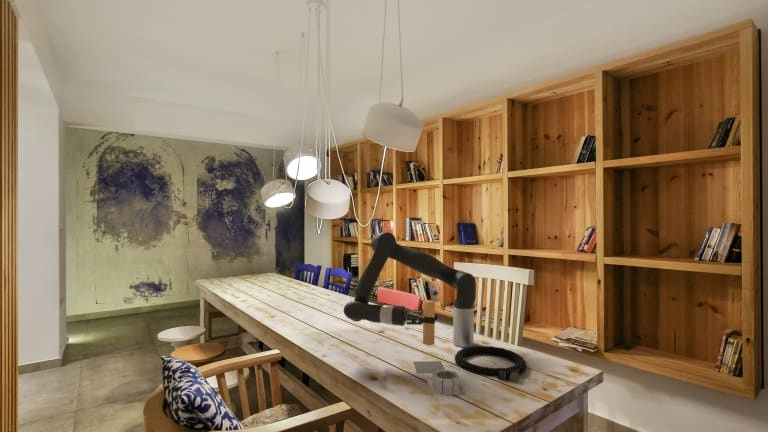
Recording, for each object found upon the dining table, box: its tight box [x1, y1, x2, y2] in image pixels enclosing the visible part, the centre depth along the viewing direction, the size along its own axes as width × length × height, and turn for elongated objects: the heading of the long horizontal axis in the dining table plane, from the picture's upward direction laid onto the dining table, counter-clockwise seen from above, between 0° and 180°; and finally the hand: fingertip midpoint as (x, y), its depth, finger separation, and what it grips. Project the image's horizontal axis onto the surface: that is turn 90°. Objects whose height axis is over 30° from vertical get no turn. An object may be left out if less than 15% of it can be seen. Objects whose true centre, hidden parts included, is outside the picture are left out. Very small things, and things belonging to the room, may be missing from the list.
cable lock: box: [454, 345, 527, 383], centre depth 148 cm, size 28×4×30 cm
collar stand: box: [426, 369, 466, 396], centre depth 127 cm, size 11×11×5 cm
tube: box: [422, 299, 436, 346], centre depth 144 cm, size 4×4×16 cm
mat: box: [413, 360, 446, 374], centre depth 144 cm, size 11×11×1 cm
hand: (435, 319), depth 143 cm, fingers closed on tube, 4 cm apart
